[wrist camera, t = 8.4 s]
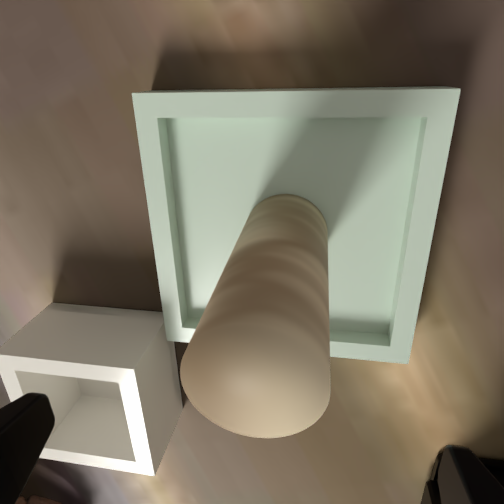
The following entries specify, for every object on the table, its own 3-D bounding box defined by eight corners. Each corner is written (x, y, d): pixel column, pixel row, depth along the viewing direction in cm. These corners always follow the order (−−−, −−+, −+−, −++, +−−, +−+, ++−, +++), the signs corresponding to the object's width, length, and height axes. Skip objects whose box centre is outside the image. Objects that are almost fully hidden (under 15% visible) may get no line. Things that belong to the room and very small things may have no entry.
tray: (446, 86, 16) (460, 88, 14) (401, 339, 22) (408, 364, 20) (150, 90, 18) (131, 92, 17) (178, 320, 24) (166, 340, 22)
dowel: (330, 195, 18) (336, 330, 9) (324, 271, 20) (325, 446, 11) (244, 192, 19) (172, 316, 10) (246, 266, 20) (187, 428, 11)
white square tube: (170, 312, 24) (133, 369, 19) (182, 408, 27) (154, 476, 23) (51, 302, 25) (-8, 353, 21) (78, 395, 29) (32, 456, 24)
